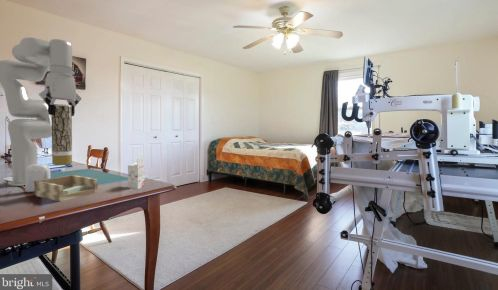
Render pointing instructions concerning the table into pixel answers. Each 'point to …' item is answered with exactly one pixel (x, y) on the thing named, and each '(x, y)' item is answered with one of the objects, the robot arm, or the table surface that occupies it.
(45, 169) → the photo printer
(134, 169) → the ink cartridge box
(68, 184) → the tan open tray
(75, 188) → the sage offcut
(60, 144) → the bark covered post
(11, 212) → the table surface
